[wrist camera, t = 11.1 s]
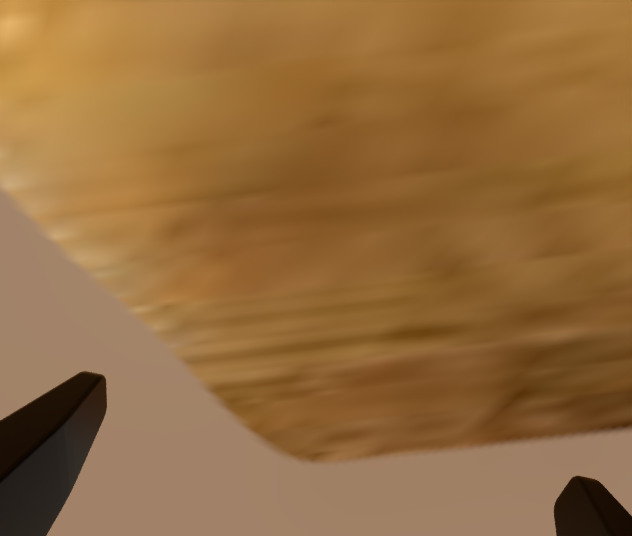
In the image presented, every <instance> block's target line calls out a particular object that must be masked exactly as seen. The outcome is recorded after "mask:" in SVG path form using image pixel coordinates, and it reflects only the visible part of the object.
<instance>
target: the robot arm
mask: <svg viewBox="0 0 632 536" xmlns="http://www.w3.org/2000/svg"><path fill="white" fill-rule="evenodd" d="M106 408H107V395H106V379H105V377H104V376H103V375H101V374H97V373H92V372H87V371H84V372H80V373H78V374H77V375H75V376H73V377H71V378H70V379H68V380H67V381H65V382H63V383H62V384H60V385H58V386H57V387H55V388H53V389H52V390H50V391H49V392H47V393H45V394H43V395H42V396H40V397H39V398H37V399H35V400H34V401H32V402H30V403H28V404H27V405H25V406H24V407H22V408H20V409H19V410H17V411H15V412H14V413H12V414H10V415H9V416H7V417H6V418H4V419H2V420H0V536H46V535H47V533H48V532H49V530H50V528H51V526H52V524H53V523H54V521H55V519H56V518H57V516H58V514H59V513H60V511H61V509H62V507H63V505H64V504H65V502H66V500H67V498H68V496H69V495H70V493H71V491H72V488H73V486H74V484H75V482H76V480H77V478H78V475H79V473H80V471H81V469H82V466H83V464H84V462H85V460H86V457H87V455H88V453H89V451H90V448H91V446H92V444H93V441H94V439H95V437H96V435H97V432H98V430H99V428H100V426H101V423H102V421H103V419H104V416H105V413H106ZM554 519H555V527H556V535H557V536H632V516H631V515H630V514H629V513H628V512H627V511H626V510H625V509H624V507H623V506H622V505H621V504H620V503H619V502H618V501H617V500H616V499H615V498H614V497H613V496H612V494H610V492H609V491H608V490H607V489H606V488H605V487H604V486H603V485H602V484H601V483H600V482H599V481H597V480H595V479H591V478H587V477H581V476H575V477H573V478H572V479H571V480H570V481H569V483H568V484H567V485H566V487H565V488H564V490H563V491H562V493H561V494H560V496H559V497H558V498H557V500H556V502H555V506H554Z"/></svg>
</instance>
